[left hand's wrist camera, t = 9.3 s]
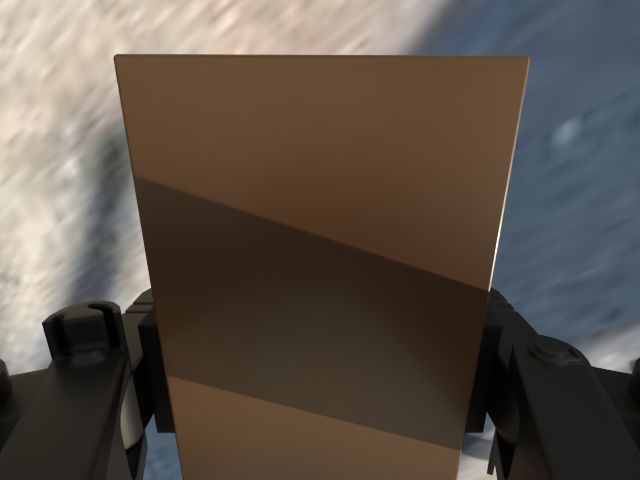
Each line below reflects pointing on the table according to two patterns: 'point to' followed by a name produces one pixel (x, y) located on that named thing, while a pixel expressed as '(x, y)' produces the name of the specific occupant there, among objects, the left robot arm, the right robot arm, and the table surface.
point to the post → (320, 252)
